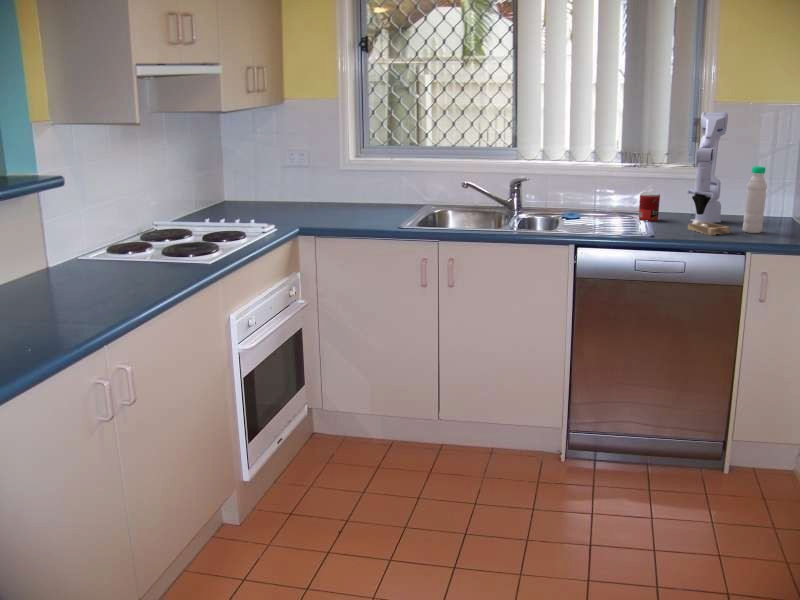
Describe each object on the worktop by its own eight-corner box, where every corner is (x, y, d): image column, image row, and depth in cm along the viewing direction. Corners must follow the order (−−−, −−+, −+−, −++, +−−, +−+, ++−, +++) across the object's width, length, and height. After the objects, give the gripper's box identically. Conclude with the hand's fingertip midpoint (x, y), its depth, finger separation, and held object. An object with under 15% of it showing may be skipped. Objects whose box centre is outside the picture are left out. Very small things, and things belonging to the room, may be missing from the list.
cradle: (706, 228, 345) (706, 221, 345) (729, 233, 334) (730, 227, 333) (687, 229, 342) (688, 223, 341) (710, 235, 331) (711, 228, 330)
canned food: (653, 222, 358) (655, 195, 356) (635, 220, 363) (637, 193, 360) (660, 219, 364) (663, 193, 362) (642, 217, 369) (644, 191, 366)
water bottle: (763, 234, 333) (770, 168, 327) (743, 233, 335) (750, 167, 328) (759, 230, 340) (767, 166, 334) (740, 230, 341) (747, 165, 335)
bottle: (699, 218, 343) (712, 221, 337) (699, 227, 345) (712, 230, 338) (691, 220, 342) (704, 224, 336) (692, 229, 343) (705, 233, 337)
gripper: (682, 177, 342) (679, 212, 346) (708, 182, 330) (705, 217, 333) (696, 176, 345) (693, 210, 349) (722, 181, 332) (719, 216, 336)
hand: (700, 214), depth 341 cm, fingers closed
